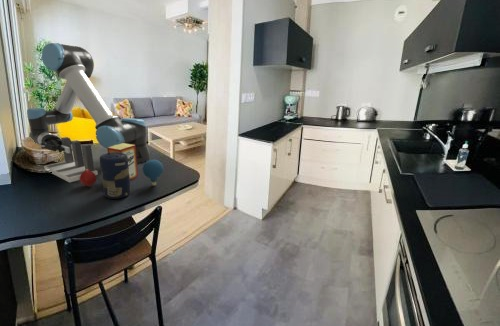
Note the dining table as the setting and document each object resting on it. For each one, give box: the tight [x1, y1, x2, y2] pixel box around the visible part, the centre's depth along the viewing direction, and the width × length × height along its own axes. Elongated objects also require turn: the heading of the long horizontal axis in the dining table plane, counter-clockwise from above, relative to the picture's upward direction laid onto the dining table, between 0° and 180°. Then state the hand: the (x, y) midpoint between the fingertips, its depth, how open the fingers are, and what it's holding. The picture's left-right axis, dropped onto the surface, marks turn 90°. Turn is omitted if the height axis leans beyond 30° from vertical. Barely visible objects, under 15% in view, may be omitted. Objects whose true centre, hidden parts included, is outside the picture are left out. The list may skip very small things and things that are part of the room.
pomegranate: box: [79, 169, 97, 188], centre depth 104 cm, size 6×6×8 cm
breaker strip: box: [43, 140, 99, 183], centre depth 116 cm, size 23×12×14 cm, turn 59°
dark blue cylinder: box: [99, 152, 131, 200], centre depth 97 cm, size 10×10×18 cm
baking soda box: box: [106, 143, 139, 181], centre depth 113 cm, size 10×6×16 cm
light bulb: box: [142, 158, 164, 186], centre depth 109 cm, size 8×8×12 cm
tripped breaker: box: [60, 136, 74, 163], centre depth 123 cm, size 3×2×12 cm
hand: (72, 150), depth 120 cm, fingers closed on tripped breaker, 2 cm apart
